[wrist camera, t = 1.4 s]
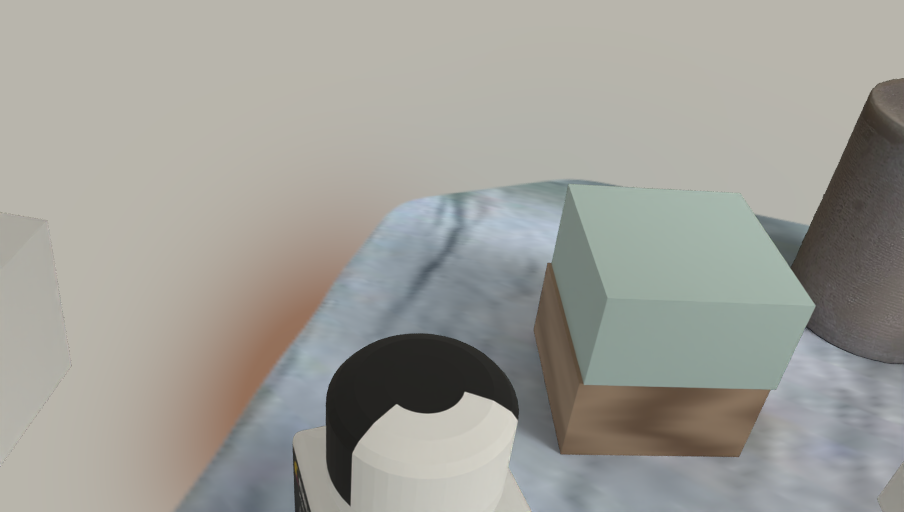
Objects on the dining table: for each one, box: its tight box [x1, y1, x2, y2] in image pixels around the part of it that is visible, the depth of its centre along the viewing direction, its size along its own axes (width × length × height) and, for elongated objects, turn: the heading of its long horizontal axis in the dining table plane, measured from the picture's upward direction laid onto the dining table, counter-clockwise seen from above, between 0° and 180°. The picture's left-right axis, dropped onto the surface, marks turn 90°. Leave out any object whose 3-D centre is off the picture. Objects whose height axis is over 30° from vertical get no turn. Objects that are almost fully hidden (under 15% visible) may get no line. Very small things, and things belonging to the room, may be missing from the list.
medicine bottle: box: [293, 334, 532, 512], centre depth 28 cm, size 7×7×12 cm
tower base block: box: [534, 263, 770, 457], centre depth 41 cm, size 9×9×5 cm
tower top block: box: [552, 184, 815, 390], centre depth 38 cm, size 9×9×5 cm
